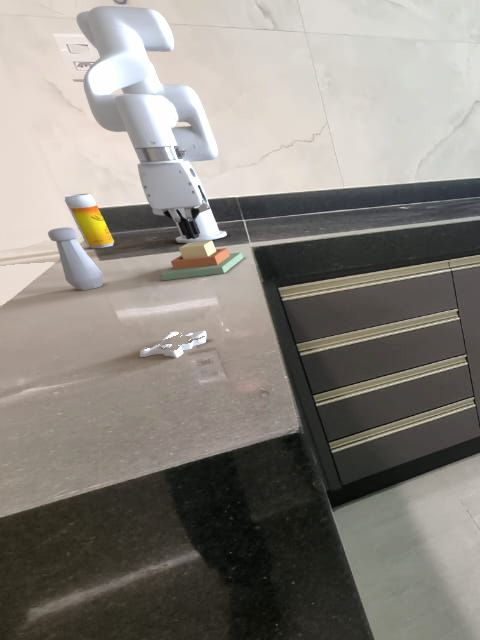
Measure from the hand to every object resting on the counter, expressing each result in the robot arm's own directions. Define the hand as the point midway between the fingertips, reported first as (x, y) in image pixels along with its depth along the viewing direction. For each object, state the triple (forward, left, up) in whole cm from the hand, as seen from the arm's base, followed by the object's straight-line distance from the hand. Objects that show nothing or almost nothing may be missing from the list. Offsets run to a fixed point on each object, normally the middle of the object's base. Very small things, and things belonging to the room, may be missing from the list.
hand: (193, 237), depth 126 cm
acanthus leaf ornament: (+59, +13, -8) cm, 61 cm away
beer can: (-51, -41, -8) cm, 65 cm away
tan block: (0, 0, -6) cm, 6 cm away
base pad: (0, 0, -7) cm, 7 cm away
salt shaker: (+6, -20, -8) cm, 22 cm away
